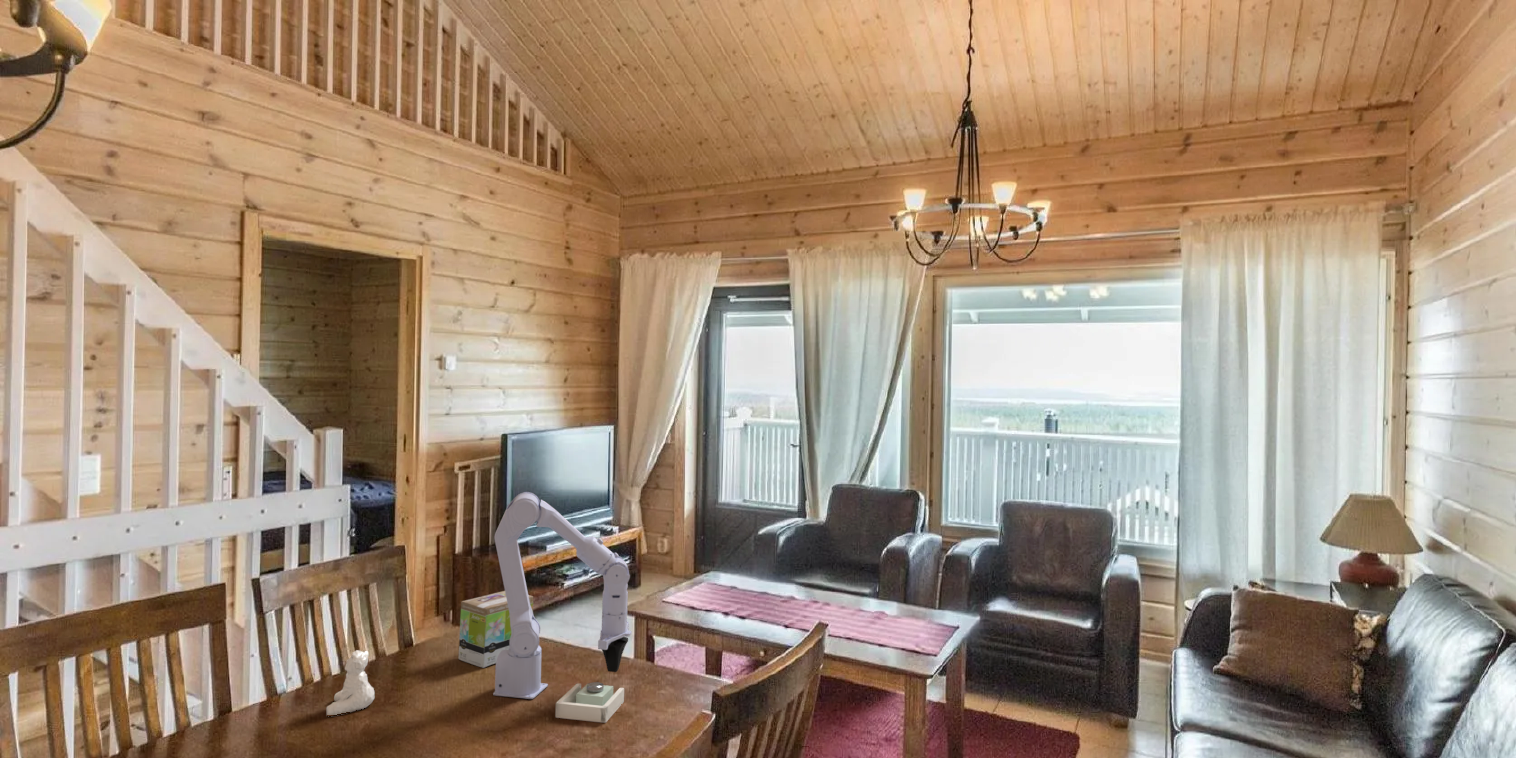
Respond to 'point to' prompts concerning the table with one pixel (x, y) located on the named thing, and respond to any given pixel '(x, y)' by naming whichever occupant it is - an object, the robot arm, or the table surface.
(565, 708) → the housing bay
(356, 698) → the seated beast figurine
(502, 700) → the table surface
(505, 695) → the robot arm
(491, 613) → the tea box
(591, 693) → the block
